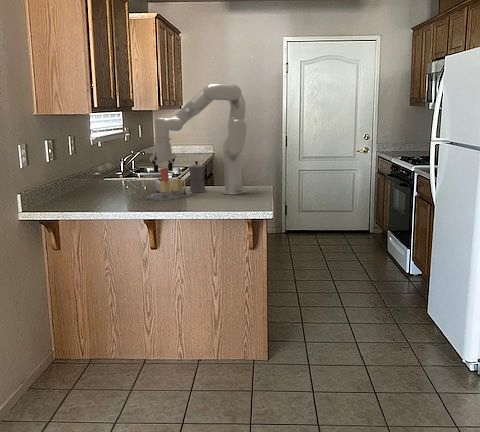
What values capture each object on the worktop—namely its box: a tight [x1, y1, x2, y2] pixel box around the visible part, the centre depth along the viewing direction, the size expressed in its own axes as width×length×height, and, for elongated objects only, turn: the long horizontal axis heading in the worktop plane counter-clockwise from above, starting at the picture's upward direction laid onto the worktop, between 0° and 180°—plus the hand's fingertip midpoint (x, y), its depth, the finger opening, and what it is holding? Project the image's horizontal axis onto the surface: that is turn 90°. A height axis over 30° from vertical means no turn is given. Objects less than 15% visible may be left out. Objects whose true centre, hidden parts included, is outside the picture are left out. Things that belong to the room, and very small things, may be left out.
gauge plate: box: [145, 178, 197, 202], centre depth 305 cm, size 14×24×9 cm, turn 135°
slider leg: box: [159, 167, 174, 195], centre depth 302 cm, size 8×4×14 cm, turn 45°
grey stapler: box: [154, 177, 171, 193], centre depth 321 cm, size 17×5×10 cm, turn 22°
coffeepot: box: [188, 160, 206, 194], centre depth 321 cm, size 15×9×18 cm, turn 176°
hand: (163, 171), depth 303 cm, fingers open, 9 cm apart
